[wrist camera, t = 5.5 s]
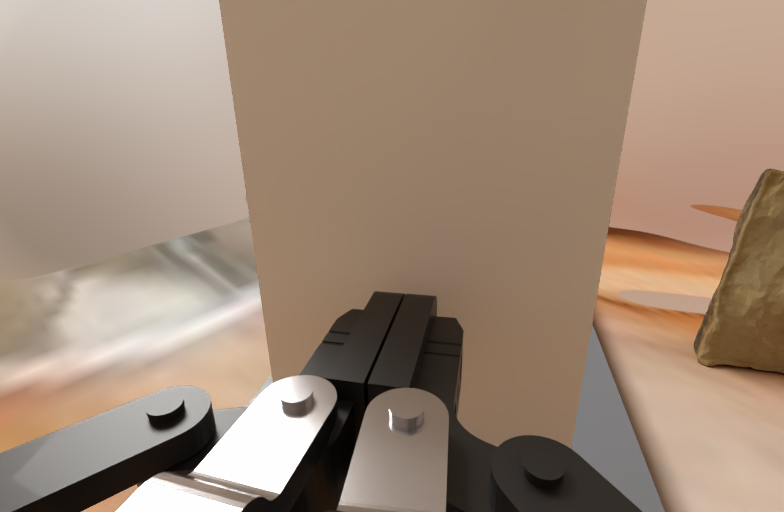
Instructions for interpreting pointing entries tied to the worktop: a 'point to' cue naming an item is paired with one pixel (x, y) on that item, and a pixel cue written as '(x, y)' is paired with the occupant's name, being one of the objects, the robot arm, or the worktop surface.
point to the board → (604, 433)
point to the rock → (750, 287)
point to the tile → (438, 178)
